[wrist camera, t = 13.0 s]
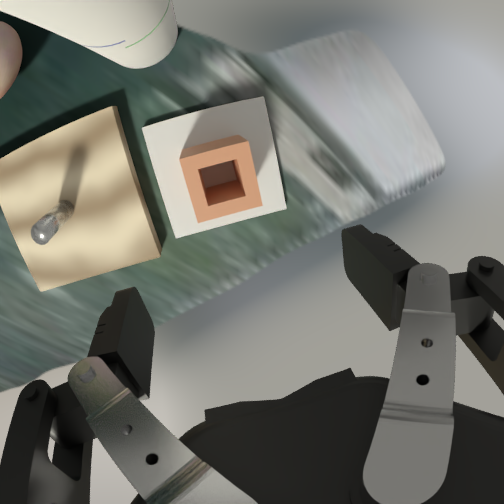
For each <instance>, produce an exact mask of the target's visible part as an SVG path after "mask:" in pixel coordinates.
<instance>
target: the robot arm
mask: <svg viewBox="0 0 504 504" xmlns="http://www.w3.org/2000/svg"><path fill="white" fill-rule="evenodd" d="M342 246H343V258H344V267H345V271H346V274H347V277H348V278H349V280H350V281H351V283H352V284H353V285H354V286H355V288H356V289H357V290H358V291H359V292H360V293H361V295H362V296H363V298H364V299H365V300H366V301H367V303H368V304H369V305H370V306H371V308H372V309H373V310H374V312H375V313H376V314H377V315H378V317H379V318H380V319H381V320H382V322H383V323H384V324H385V326H386V327H387V328H388V329H389V331H391V330H394V329H396V328H398V327H400V331H399V336H398V341H397V347H396V352H395V357H394V362H393V367H392V372H391V376H390V379H388V378H383V377H375V376H364V377H355V375H354V374H353V372H352V370H351V368H348V369H346V370H343V371H340V372H337V373H334V374H332V375H329V376H326V377H323V378H320V379H317V380H315V381H313V382H312V383H310V384H308V385H306V386H304V387H302V388H301V389H299V390H297V391H295V392H293V393H292V394H290V395H288V396H286V397H284V398H282V399H277V400H264V401H244V402H237V403H233V404H229V405H224V406H221V407H216V408H211V409H206V410H205V420H206V421H204V422H202V423H200V424H198V425H196V426H194V427H193V428H191V429H190V430H189V431H187V432H186V433H185V434H184V435H183V436H181V437H180V438H179V439H177V438H176V437H175V436H174V435H173V434H172V433H171V432H170V431H169V430H168V429H167V428H166V427H165V426H164V425H163V424H162V423H161V422H160V421H159V420H158V419H157V418H156V417H155V416H154V415H153V414H152V413H151V412H150V411H149V410H148V409H147V408H146V407H145V406H144V405H143V404H142V403H141V402H140V400H145V399H149V396H150V381H151V368H152V356H153V346H154V335H155V331H154V325H153V322H152V319H151V317H150V315H149V313H148V311H147V309H146V307H145V305H144V303H143V300H142V298H141V296H140V294H139V292H138V290H137V289H136V288H135V287H131V288H127V289H124V290H120V291H117V292H116V293H115V296H114V299H113V302H112V305H111V306H110V307H107V308H106V310H105V311H104V312H103V313H102V315H101V316H100V318H99V321H98V324H97V327H96V331H95V335H94V337H93V340H92V343H91V346H90V350H89V353H88V356H87V358H84V359H82V360H81V361H79V362H78V363H76V364H75V365H74V366H73V368H72V369H71V370H70V372H69V375H68V382H66V383H63V384H61V385H59V386H57V387H55V388H52V389H51V388H50V386H49V385H48V384H47V383H46V382H45V381H44V380H35V381H32V382H31V383H29V384H28V385H27V386H25V388H24V389H23V390H22V391H21V393H20V395H19V398H18V401H17V404H16V407H15V411H14V413H13V417H12V420H11V424H10V427H9V431H8V435H7V438H6V442H5V447H4V450H3V455H2V459H1V464H0V504H90V474H91V458H92V444H93V439H95V438H98V439H99V441H100V442H101V444H102V445H103V447H104V448H105V449H106V451H107V452H108V454H109V455H110V457H111V458H112V459H113V461H114V462H115V464H116V465H117V466H118V468H119V469H120V470H121V472H122V473H123V474H124V476H125V477H126V478H127V479H128V481H129V482H130V483H131V484H132V486H133V487H134V488H135V489H136V490H137V492H138V494H137V496H136V497H135V498H134V500H133V501H132V502H131V504H504V417H500V416H497V415H493V414H491V413H487V412H484V411H481V410H478V409H475V408H472V407H469V406H465V405H463V404H459V403H457V402H454V401H453V397H454V382H455V360H456V358H455V357H456V335H458V336H459V337H460V338H461V339H462V341H463V342H464V343H465V344H466V346H467V347H468V348H469V349H470V351H471V352H472V353H473V354H474V356H475V357H476V358H477V360H478V361H479V362H480V363H481V365H482V366H483V367H484V369H485V370H486V371H487V373H488V374H489V375H490V377H491V378H492V379H493V381H494V382H495V383H496V385H497V386H498V387H499V389H500V390H501V392H502V393H503V394H504V330H503V329H502V328H501V327H500V326H499V325H498V324H497V323H496V322H495V321H494V320H493V319H492V317H493V313H494V310H495V311H496V312H497V313H498V314H499V315H500V316H501V317H502V318H503V320H504V265H503V264H501V263H500V262H499V261H497V260H496V259H493V258H491V257H486V256H478V257H474V258H472V259H471V260H470V261H469V262H468V267H467V272H462V273H455V274H448V272H447V270H445V269H444V268H443V267H441V266H439V265H436V264H432V263H422V264H420V263H419V262H417V261H416V260H415V259H414V258H413V257H411V256H410V255H409V254H408V253H407V252H405V251H404V250H403V249H401V248H400V247H399V246H398V245H397V244H396V245H395V243H394V242H393V241H392V240H391V239H389V238H388V237H386V236H383V235H381V234H378V233H374V234H373V233H371V232H370V231H369V230H368V229H366V228H365V227H364V226H363V225H356V226H353V227H349V228H346V229H343V230H342ZM50 437H51V438H52V439H53V440H54V441H55V446H54V452H53V459H52V463H51V461H50V459H49V457H48V452H47V450H48V444H49V438H50Z"/></svg>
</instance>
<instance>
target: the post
mask: <svg viewBox="0 0 504 504" xmlns="http://www.w3.org/2000/svg"><path fill="white" fill-rule="evenodd" d="M73 214H74V206H73V204H72V203H71V202H70V201H68V200H62V201H60V202H59V203H58V204H57V205H56V206H54V207H53V208H52V209H51V210H50V211H49V212H48V213H46V214H45V215H44V216H43V217H42V218H41V219H40V220H38V221H37V222H36V223H35V224H34V225H33V226H32V228H31V237H32V239H33V240H34V241H35V242H36V243H37V244H39V245H45V244H47V243H48V242H49V240H50V239H51V238H52V237H53V236H54V235H55V234H56V233H57V232H58V230H59V229H60V228H61V227H62V226H63V225H64V224H65V223H66V222H67V221H68V220H69V219H70V218H71V217H72V215H73Z"/></svg>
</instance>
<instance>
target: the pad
mask: <svg viewBox="0 0 504 504" xmlns="http://www.w3.org/2000/svg"><path fill="white" fill-rule="evenodd" d="M142 130H143V134H144V137H145V141H146V144H147V148H148V151H149V154H150V158H151V161H152V165H153V168H154V171H155V175H156V178H157V181H158V184H159V188H160V191H161V194H162V197H163V200H164V203H165V206H166V210H167V213H168V216H169V219H170V222H171V225H172V228H173V231H174V234H175V237H176V238H180V237H183V236H187V235H190V234H194V233H197V232H201V231H205V230H208V229H212V228H216V227H219V226H223V225H227V224H230V223H234V222H238V221H241V220H245V219H249V218H253V217H257V216H260V215H264V214H268V213H272V212H276V211H280V210H284V209H286V203H285V198H284V193H283V187H282V182H281V177H280V172H279V167H278V162H277V156H276V151H275V147H274V142H273V137H272V132H271V127H270V122H269V118H268V113H267V108H266V104H265V99H264V96H262V97H257V98H252V99H247V100H242V101H238V102H233V103H229V104H224V105H220V106H216V107H212V108H208V109H204V110H200V111H196V112H193V113H189V114H185V115H182V116H178V117H175V118H171V119H168V120H165V121H161V122H158V123H155V124H152V125H149V126H146V127H143V128H142ZM235 135H240V136H242V137H243V138H245V139H246V140H248V141H249V146H250V150H251V155H252V159H253V163H254V168H255V172H256V177H257V181H258V186H259V190H260V195H261V200H262V204H263V206H260V207H256V208H252V209H248V210H245V211H241V212H237V213H234V214H230V215H226V216H222V217H219V218H215V219H212V220H208V221H204V222H201V223H198V222H197V219H196V215H195V212H194V209H193V205H192V202H191V199H190V195H189V192H188V188H187V185H186V182H185V178H184V175H183V171H182V168H181V164H180V161H179V158H180V155H181V152H182V149H186V148H189V147H193V146H196V145H200V144H204V143H207V142H211V141H215V140H219V139H223V138H227V137H231V136H235ZM201 173H202V177H203V180H204V184H205V188H208V187H211V186H215V185H219V184H222V183H226V182H230V181H234V180H237V179H236V174H235V170H234V166H233V162H232V160H231V161H227V162H223V163H219V164H216V165H212V166H208V167H205V168H201Z"/></svg>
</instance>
